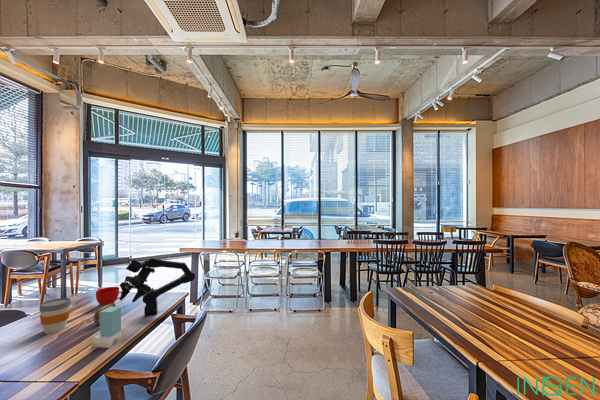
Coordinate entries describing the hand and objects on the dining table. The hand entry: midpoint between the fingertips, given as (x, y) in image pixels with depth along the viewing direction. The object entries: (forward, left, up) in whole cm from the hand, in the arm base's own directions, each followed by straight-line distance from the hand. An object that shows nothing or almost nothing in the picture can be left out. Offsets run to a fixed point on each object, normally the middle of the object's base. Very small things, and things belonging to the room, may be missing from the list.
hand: (126, 301), depth 146 cm
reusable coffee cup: (+35, -8, -13) cm, 38 cm away
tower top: (+4, +19, -11) cm, 23 cm away
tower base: (+4, +19, -14) cm, 24 cm away
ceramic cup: (+17, -38, -13) cm, 44 cm away
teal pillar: (+3, +19, -9) cm, 21 cm away
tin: (+13, -10, -13) cm, 21 cm away
